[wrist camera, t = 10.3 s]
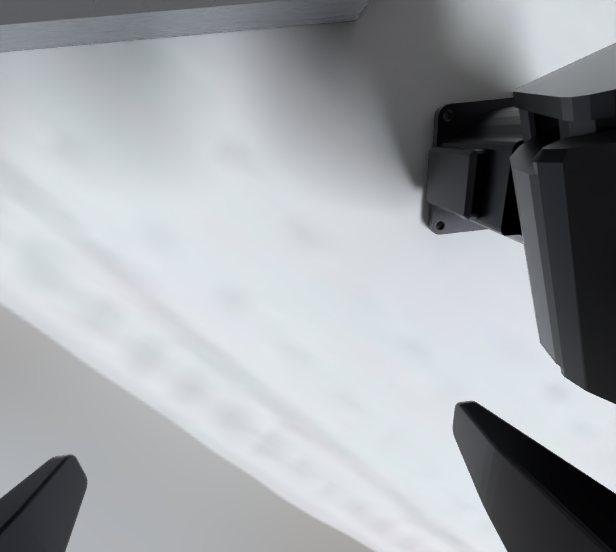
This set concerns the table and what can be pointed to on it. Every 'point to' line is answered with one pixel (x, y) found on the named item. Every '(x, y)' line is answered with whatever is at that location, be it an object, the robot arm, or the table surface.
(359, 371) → the table surface
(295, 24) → the plate
